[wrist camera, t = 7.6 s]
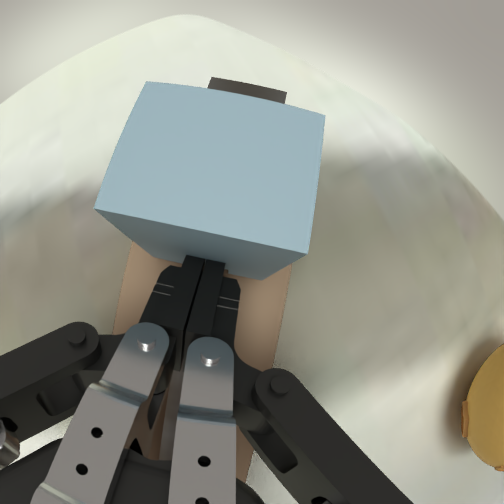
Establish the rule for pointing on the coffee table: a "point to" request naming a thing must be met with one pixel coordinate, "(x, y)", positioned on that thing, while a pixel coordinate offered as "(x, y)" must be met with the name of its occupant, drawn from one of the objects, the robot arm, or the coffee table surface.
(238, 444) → the rail
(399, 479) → the coffee table surface
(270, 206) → the pale blue squarish block
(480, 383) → the stress ball
